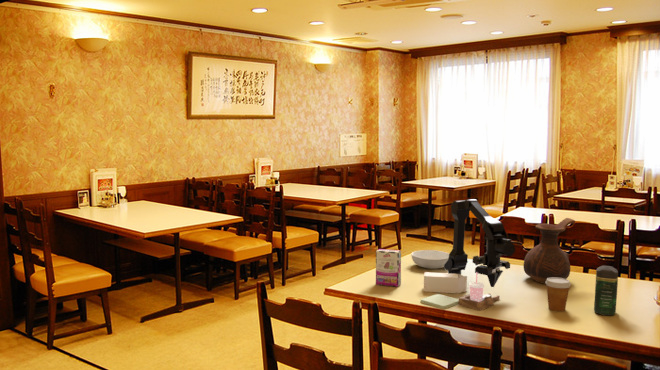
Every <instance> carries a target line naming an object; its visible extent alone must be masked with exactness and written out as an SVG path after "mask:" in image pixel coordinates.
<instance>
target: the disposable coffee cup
mask: <svg viewBox="0 0 660 370" xmlns="http://www.w3.org/2000/svg"><path fill="white" fill-rule="evenodd" d="M544 284H545V285H546V295H547V304H548V307H547V308H548V309H549V310H550V311H554V312H564V311H566V306H567V301H568V297H569V291H570V287H571V281H570V280H569V279H568V278H567V279H564V278H557V277H551V278H547V280H546V282H545V283H544Z"/></svg>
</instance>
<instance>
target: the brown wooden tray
mask: <svg viewBox="0 0 660 370" xmlns="http://www.w3.org/2000/svg"><path fill="white" fill-rule="evenodd" d="M487 294H488V295H492V293H487ZM458 299H459V304H458V306H462V307H464V306H465V308H469V309H472V310H476V311H483V310H485V309H487V308H490V307H493V306H494V303H495V302H497V301H499V300H500V295H496V296H492V298H491V297H485V300H483V301H480V302H477V301H474V300H470V293H469V294H466V295H462V296H460V297H458Z"/></svg>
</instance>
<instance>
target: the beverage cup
mask: <svg viewBox="0 0 660 370" xmlns="http://www.w3.org/2000/svg"><path fill="white" fill-rule="evenodd" d="M468 286H469V294H470V300H474V301H477V302H480V301H482V298H483V295H484V288H485V283H483V282H479V281H478V272H476V273H475V282H474V281H473V282H471V281H470V282H469V283H468Z"/></svg>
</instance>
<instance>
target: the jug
mask: <svg viewBox="0 0 660 370" xmlns="http://www.w3.org/2000/svg"><path fill="white" fill-rule="evenodd" d="M575 223H576V220H575V219H573V218H569V217H565V218H564V219H562V220H561V221H560V222H559V223H557V224H551V223H538V224H536V225H535V229H537V230H539V231H540V233H541V239H540V242H539V244H537V245H535V246H534V247H532V248H531V249H530V250H528V252H527V253H526V255H525V256H524V260H523V271H524V273H525V274H526V275H527V276H528V277H530V278H531V279H532V280H534V281H535V282H537V283H540V284H546V283H545V282H546V280H547V278H551V277H557V278H564V279H567V280H568V277H570V274H571V264H570V259H569V257H570V254H569V253H567V252H566V251H564V250H563V249H561V248H560V246H559V244H558V236H559V234H560V233H563V232H565V231H566V229H567V227H568V226H569V225H571V224H575Z"/></svg>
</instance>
